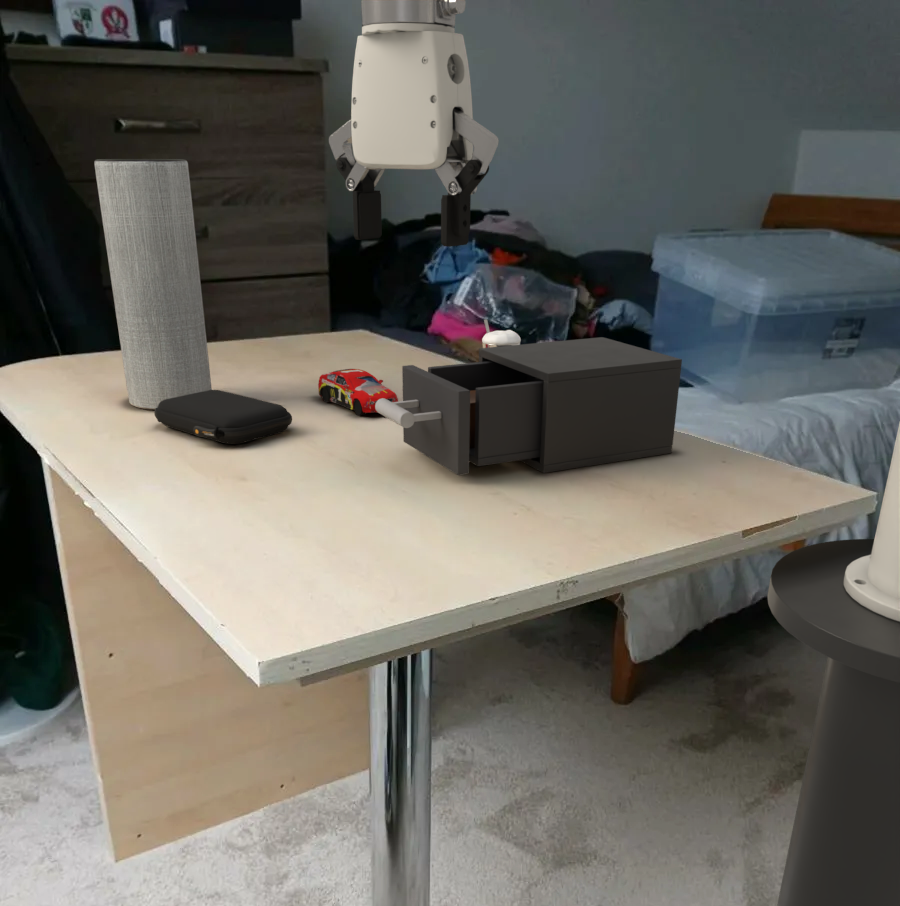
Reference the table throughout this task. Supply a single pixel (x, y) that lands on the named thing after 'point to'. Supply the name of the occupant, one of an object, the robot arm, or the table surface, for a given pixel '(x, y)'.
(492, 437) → the drawer
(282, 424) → the carrying case
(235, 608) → the table surface
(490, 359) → the cabinet
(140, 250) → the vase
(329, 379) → the race car
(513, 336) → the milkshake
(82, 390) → the table surface
